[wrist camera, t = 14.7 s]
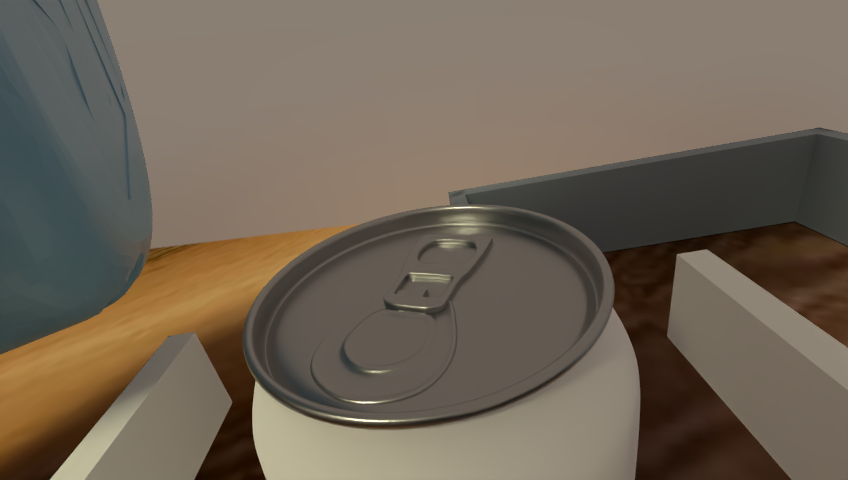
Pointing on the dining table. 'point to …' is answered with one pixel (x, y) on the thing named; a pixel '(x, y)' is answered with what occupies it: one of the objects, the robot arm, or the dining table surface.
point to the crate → (693, 191)
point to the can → (444, 354)
